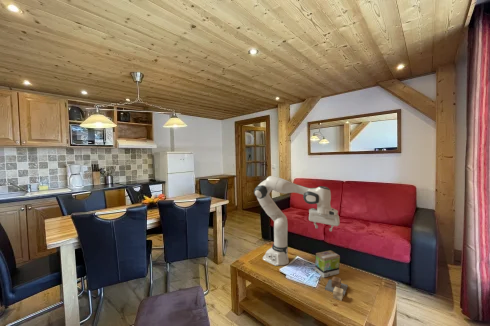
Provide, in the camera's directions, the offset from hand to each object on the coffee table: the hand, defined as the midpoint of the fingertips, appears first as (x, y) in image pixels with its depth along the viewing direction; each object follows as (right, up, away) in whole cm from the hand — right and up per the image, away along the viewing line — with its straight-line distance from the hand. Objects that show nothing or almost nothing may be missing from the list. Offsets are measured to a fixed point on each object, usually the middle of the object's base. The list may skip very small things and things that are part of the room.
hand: (323, 229), depth 147 cm
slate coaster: (+8, -39, -2) cm, 40 cm away
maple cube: (+5, -40, -11) cm, 42 cm away
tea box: (+9, -39, +16) cm, 43 cm away
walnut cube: (+8, -38, -2) cm, 39 cm away
